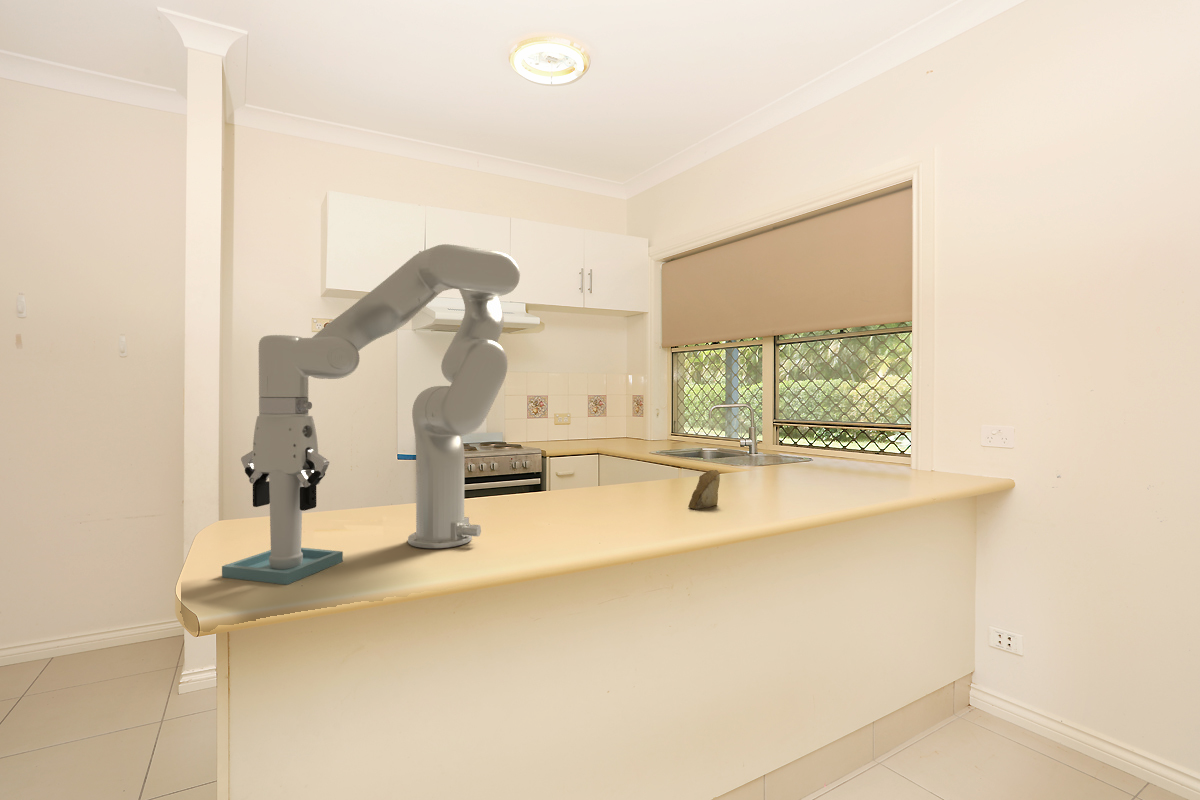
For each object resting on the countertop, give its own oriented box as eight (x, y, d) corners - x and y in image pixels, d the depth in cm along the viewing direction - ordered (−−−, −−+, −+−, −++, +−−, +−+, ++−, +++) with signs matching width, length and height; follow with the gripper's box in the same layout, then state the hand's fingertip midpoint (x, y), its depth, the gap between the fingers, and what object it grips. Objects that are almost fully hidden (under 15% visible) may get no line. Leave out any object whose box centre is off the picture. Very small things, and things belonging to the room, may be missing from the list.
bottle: (268, 571, 99) (268, 422, 98) (269, 562, 104) (269, 419, 103) (303, 567, 102) (303, 421, 101) (302, 559, 106) (302, 419, 105)
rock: (695, 503, 151) (730, 496, 154) (683, 474, 156) (717, 467, 159) (684, 521, 160) (717, 513, 163) (673, 492, 164) (705, 486, 167)
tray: (342, 561, 107) (342, 551, 107) (287, 584, 95) (287, 573, 95) (283, 555, 111) (283, 545, 111) (222, 577, 98) (221, 566, 98)
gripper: (342, 408, 103) (342, 506, 104) (260, 406, 108) (261, 500, 108) (310, 409, 96) (310, 515, 97) (224, 407, 101) (225, 508, 101)
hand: (284, 507), depth 102 cm, fingers open, 9 cm apart
